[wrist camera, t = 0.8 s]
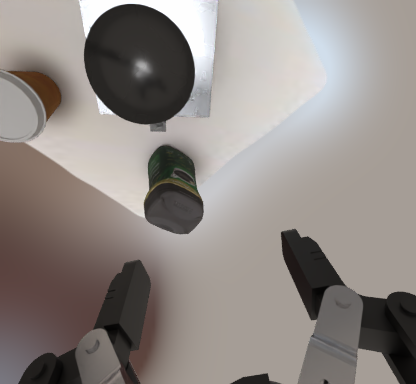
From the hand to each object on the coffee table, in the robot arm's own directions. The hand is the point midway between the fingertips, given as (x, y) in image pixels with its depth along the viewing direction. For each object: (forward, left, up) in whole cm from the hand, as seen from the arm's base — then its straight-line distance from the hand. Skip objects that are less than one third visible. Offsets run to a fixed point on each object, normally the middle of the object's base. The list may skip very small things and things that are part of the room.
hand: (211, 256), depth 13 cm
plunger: (-3, +9, -24) cm, 26 cm away
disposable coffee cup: (-23, +1, -38) cm, 44 cm away
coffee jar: (-1, -13, -38) cm, 40 cm away
